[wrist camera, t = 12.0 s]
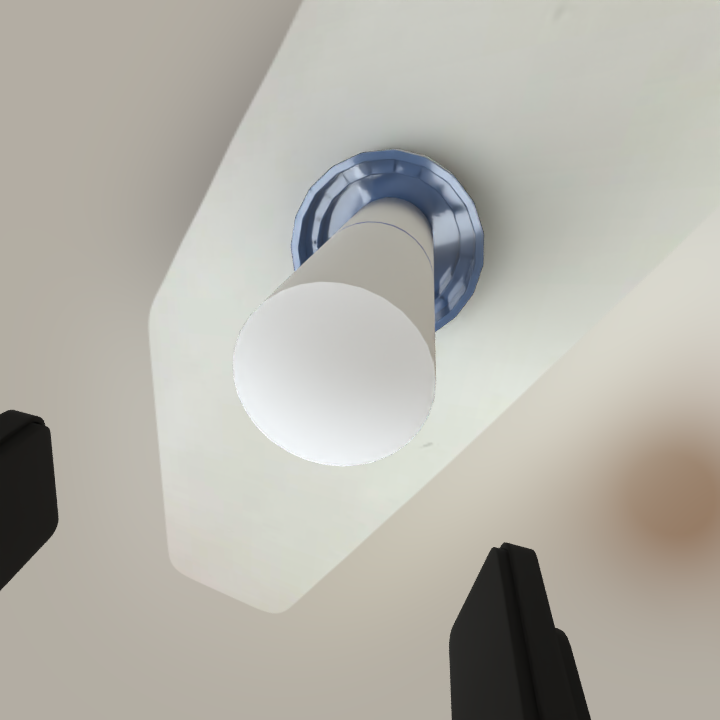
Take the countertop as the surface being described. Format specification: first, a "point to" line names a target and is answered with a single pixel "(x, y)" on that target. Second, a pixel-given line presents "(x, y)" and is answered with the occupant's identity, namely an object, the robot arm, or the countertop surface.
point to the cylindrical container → (347, 343)
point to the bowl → (416, 185)
